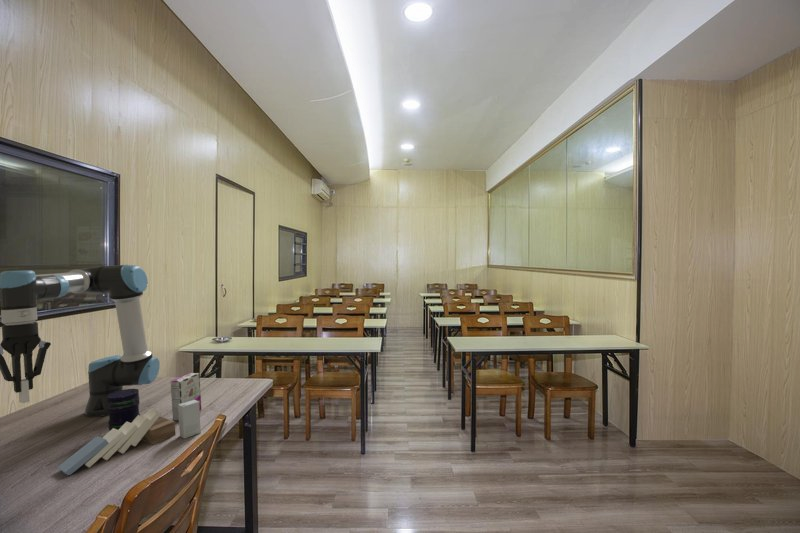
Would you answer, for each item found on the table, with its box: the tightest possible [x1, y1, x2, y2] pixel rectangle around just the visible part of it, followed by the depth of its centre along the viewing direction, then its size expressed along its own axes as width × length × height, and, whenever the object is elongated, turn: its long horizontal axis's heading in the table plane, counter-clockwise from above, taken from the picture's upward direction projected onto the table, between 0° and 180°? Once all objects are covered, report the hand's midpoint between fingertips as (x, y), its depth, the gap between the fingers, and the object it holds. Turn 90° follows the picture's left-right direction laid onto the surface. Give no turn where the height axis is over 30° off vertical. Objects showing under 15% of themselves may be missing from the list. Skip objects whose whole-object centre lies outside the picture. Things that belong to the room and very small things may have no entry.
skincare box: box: [178, 400, 201, 439], centre depth 140 cm, size 6×4×12 cm
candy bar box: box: [170, 372, 202, 422], centre depth 159 cm, size 11×5×16 cm, turn 168°
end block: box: [140, 416, 176, 445], centre depth 140 cm, size 10×8×5 cm
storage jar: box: [107, 388, 141, 431], centre depth 145 cm, size 10×10×15 cm
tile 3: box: [116, 414, 151, 455], centre depth 132 cm, size 6×2×12 cm
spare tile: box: [57, 435, 109, 476], centre depth 121 cm, size 6×2×12 cm
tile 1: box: [84, 428, 125, 469], centre depth 125 cm, size 6×2×12 cm
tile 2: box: [100, 422, 139, 461], centre depth 129 cm, size 6×2×12 cm
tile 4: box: [130, 408, 162, 447], centre depth 136 cm, size 6×2×12 cm
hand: (24, 401), depth 112 cm, fingers closed
